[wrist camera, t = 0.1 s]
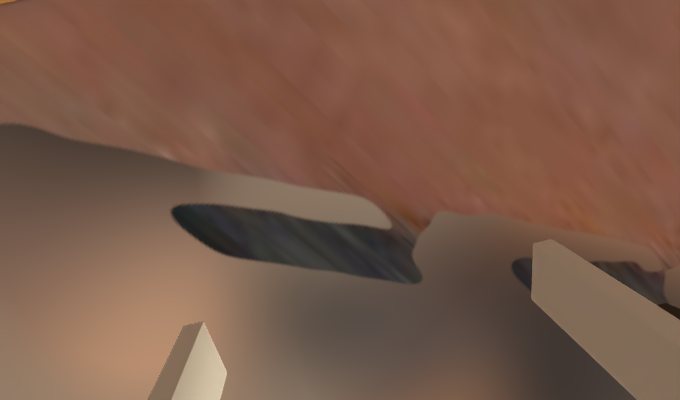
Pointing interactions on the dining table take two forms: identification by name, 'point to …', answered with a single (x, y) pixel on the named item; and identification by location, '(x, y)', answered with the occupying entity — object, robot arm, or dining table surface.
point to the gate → (6, 1)
